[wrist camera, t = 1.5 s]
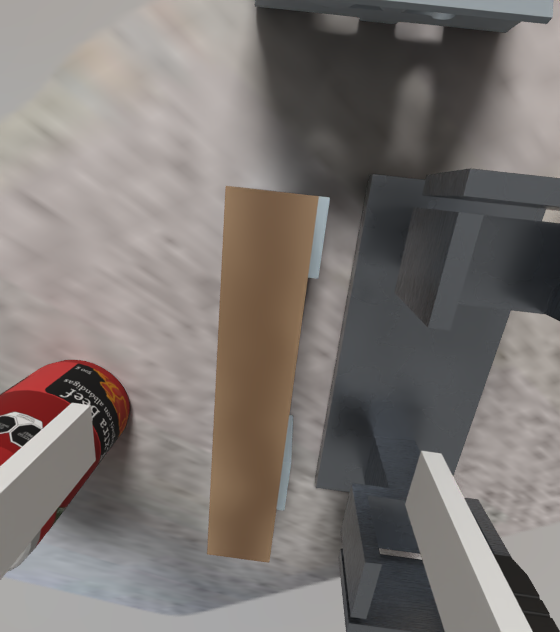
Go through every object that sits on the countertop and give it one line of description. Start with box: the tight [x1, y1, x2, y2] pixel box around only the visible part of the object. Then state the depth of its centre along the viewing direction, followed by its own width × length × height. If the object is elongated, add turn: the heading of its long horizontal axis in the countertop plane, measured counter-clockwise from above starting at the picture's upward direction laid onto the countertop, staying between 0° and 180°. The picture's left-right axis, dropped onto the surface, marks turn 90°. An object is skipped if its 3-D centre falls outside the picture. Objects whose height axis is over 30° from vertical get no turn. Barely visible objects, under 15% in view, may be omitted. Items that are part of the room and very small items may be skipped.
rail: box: [207, 186, 319, 562], centre depth 18 cm, size 4×20×4 cm, turn 174°
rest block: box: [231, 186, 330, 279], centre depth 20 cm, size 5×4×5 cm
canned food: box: [0, 360, 130, 572], centre depth 22 cm, size 8×8×11 cm
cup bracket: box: [316, 169, 560, 632], centre depth 20 cm, size 10×23×11 cm, turn 174°
